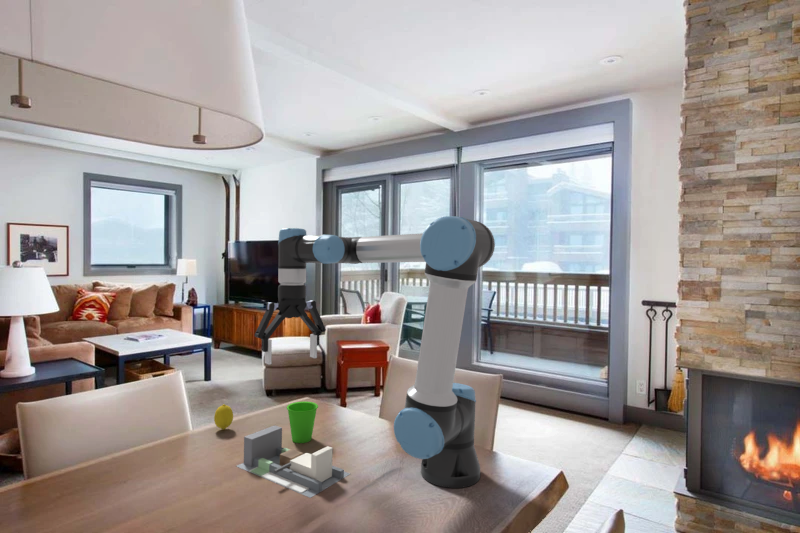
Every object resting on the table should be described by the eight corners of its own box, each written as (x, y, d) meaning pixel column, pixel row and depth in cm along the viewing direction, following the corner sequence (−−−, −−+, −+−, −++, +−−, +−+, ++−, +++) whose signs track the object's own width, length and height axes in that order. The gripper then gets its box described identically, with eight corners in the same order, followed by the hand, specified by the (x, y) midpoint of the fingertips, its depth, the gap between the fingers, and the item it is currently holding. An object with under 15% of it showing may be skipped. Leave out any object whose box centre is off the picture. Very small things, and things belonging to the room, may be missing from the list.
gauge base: (350, 478, 113) (351, 445, 113) (310, 503, 101) (310, 466, 101) (278, 451, 127) (278, 422, 127) (235, 470, 115) (236, 438, 115)
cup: (313, 450, 129) (314, 411, 128) (282, 449, 129) (282, 410, 129) (320, 437, 138) (320, 401, 137) (290, 437, 138) (291, 400, 138)
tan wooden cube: (302, 468, 115) (302, 452, 115) (290, 474, 112) (291, 458, 112) (291, 464, 117) (291, 448, 117) (279, 470, 114) (279, 454, 114)
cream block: (331, 476, 111) (332, 447, 110) (299, 495, 102) (299, 463, 101) (306, 466, 115) (306, 439, 115) (273, 483, 106) (273, 454, 106)
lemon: (236, 429, 143) (237, 403, 143) (221, 434, 138) (221, 408, 138) (225, 425, 146) (225, 400, 146) (210, 430, 141) (210, 405, 141)
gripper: (324, 282, 137) (324, 352, 137) (242, 284, 121) (241, 363, 122) (337, 283, 131) (337, 357, 131) (253, 285, 116) (252, 369, 116)
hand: (291, 360), depth 127 cm, fingers open, 13 cm apart
